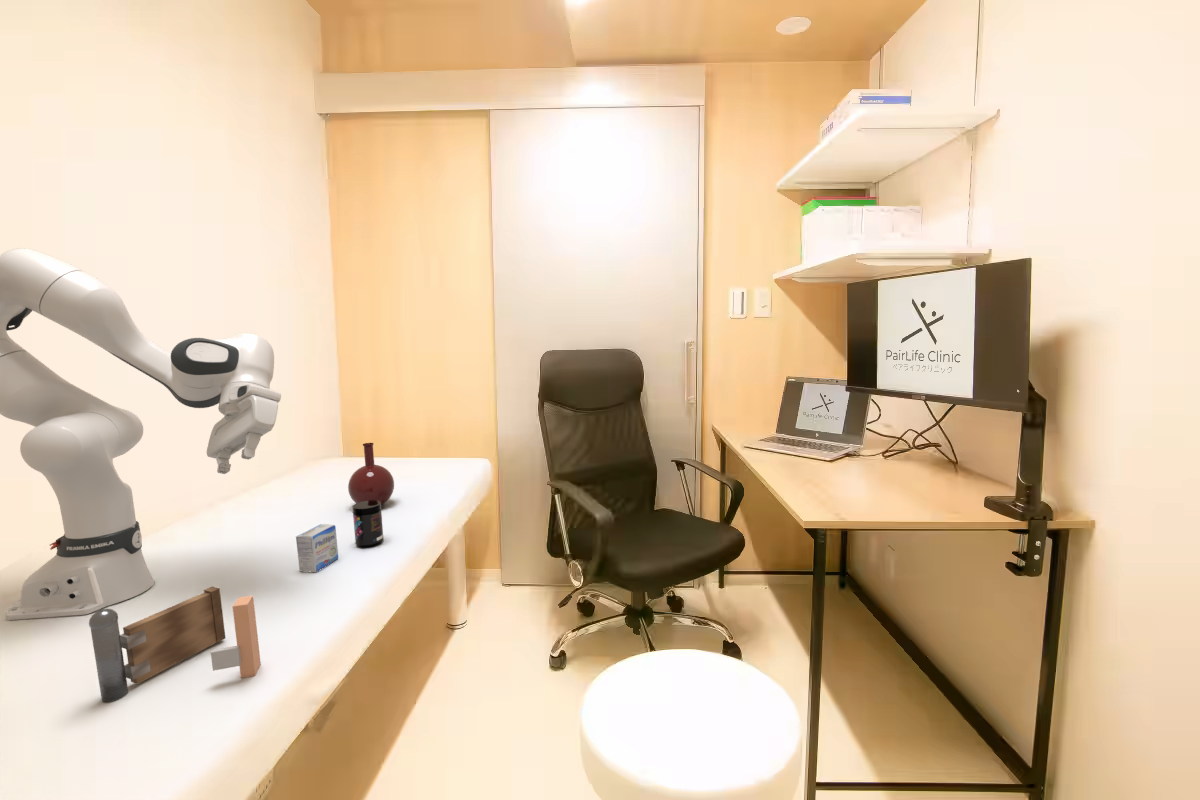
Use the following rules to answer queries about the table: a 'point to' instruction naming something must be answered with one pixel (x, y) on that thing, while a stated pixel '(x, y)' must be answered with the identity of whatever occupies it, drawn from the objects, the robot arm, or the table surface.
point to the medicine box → (317, 547)
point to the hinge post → (108, 655)
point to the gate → (173, 635)
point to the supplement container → (368, 523)
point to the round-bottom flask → (370, 480)
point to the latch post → (241, 641)
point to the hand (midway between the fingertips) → (235, 465)
